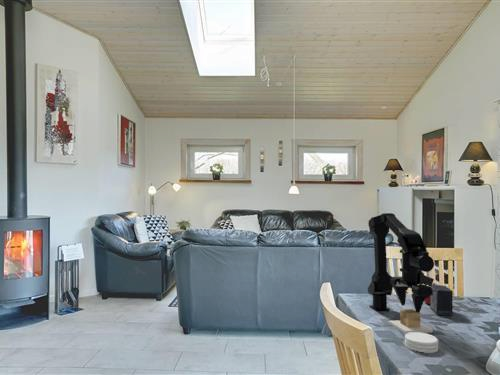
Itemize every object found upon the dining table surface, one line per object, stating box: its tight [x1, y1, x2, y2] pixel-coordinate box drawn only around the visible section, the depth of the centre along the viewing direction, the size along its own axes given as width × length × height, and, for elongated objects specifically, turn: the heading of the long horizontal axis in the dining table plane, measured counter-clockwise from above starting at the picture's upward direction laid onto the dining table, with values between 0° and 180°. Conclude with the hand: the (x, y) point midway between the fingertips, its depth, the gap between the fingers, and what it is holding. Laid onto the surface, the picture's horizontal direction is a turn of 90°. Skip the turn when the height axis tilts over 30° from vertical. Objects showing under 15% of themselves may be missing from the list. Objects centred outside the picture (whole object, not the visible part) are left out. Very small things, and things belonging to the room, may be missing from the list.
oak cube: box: [399, 308, 421, 328], centre depth 140 cm, size 5×5×5 cm
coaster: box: [404, 332, 440, 354], centre depth 122 cm, size 10×10×4 cm
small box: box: [429, 284, 454, 317], centre depth 160 cm, size 11×6×10 cm, turn 168°
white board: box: [388, 319, 434, 335], centre depth 139 cm, size 11×11×1 cm
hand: (410, 308), depth 139 cm, fingers open, 9 cm apart
